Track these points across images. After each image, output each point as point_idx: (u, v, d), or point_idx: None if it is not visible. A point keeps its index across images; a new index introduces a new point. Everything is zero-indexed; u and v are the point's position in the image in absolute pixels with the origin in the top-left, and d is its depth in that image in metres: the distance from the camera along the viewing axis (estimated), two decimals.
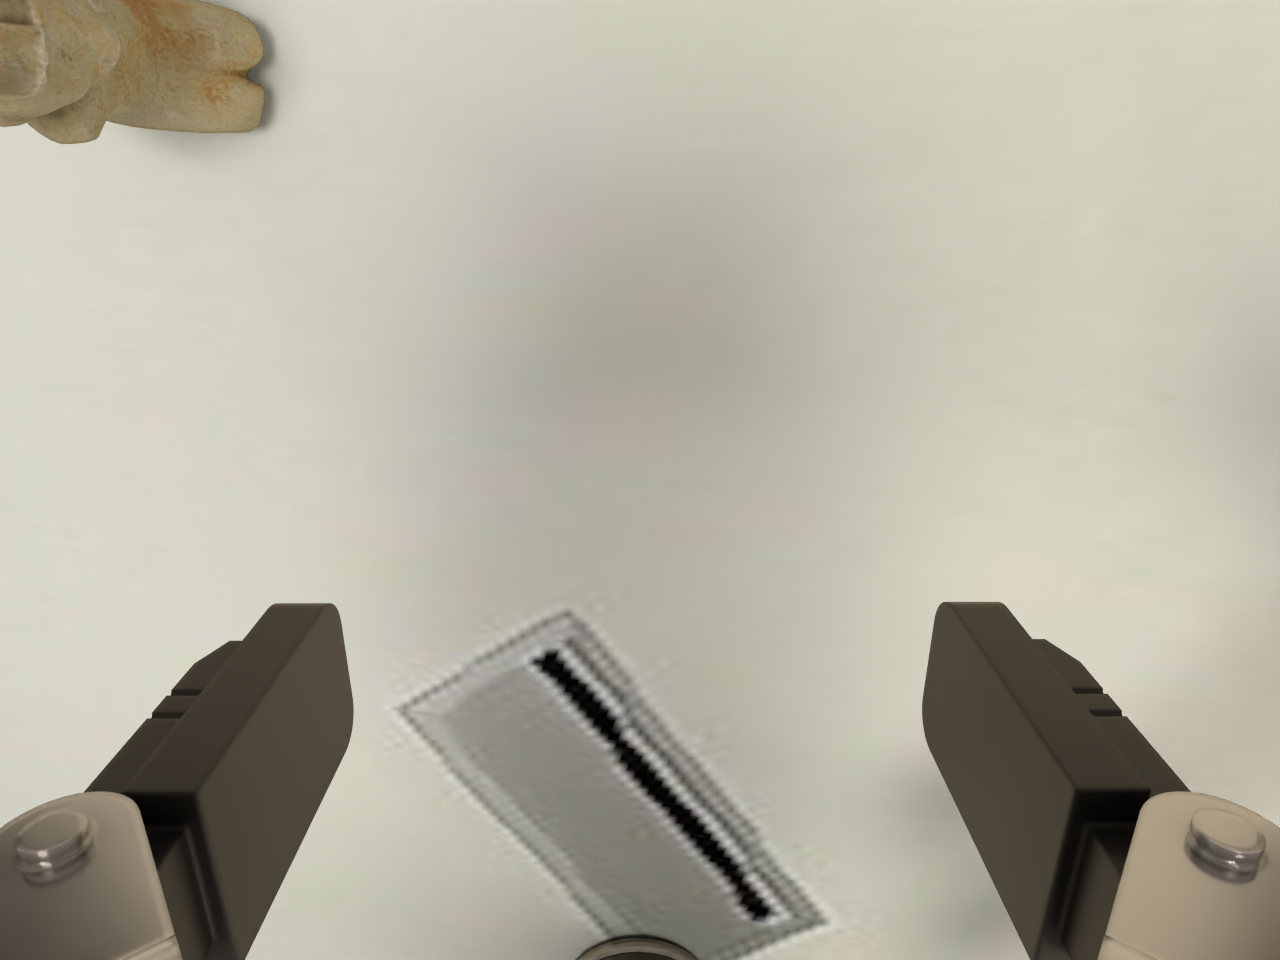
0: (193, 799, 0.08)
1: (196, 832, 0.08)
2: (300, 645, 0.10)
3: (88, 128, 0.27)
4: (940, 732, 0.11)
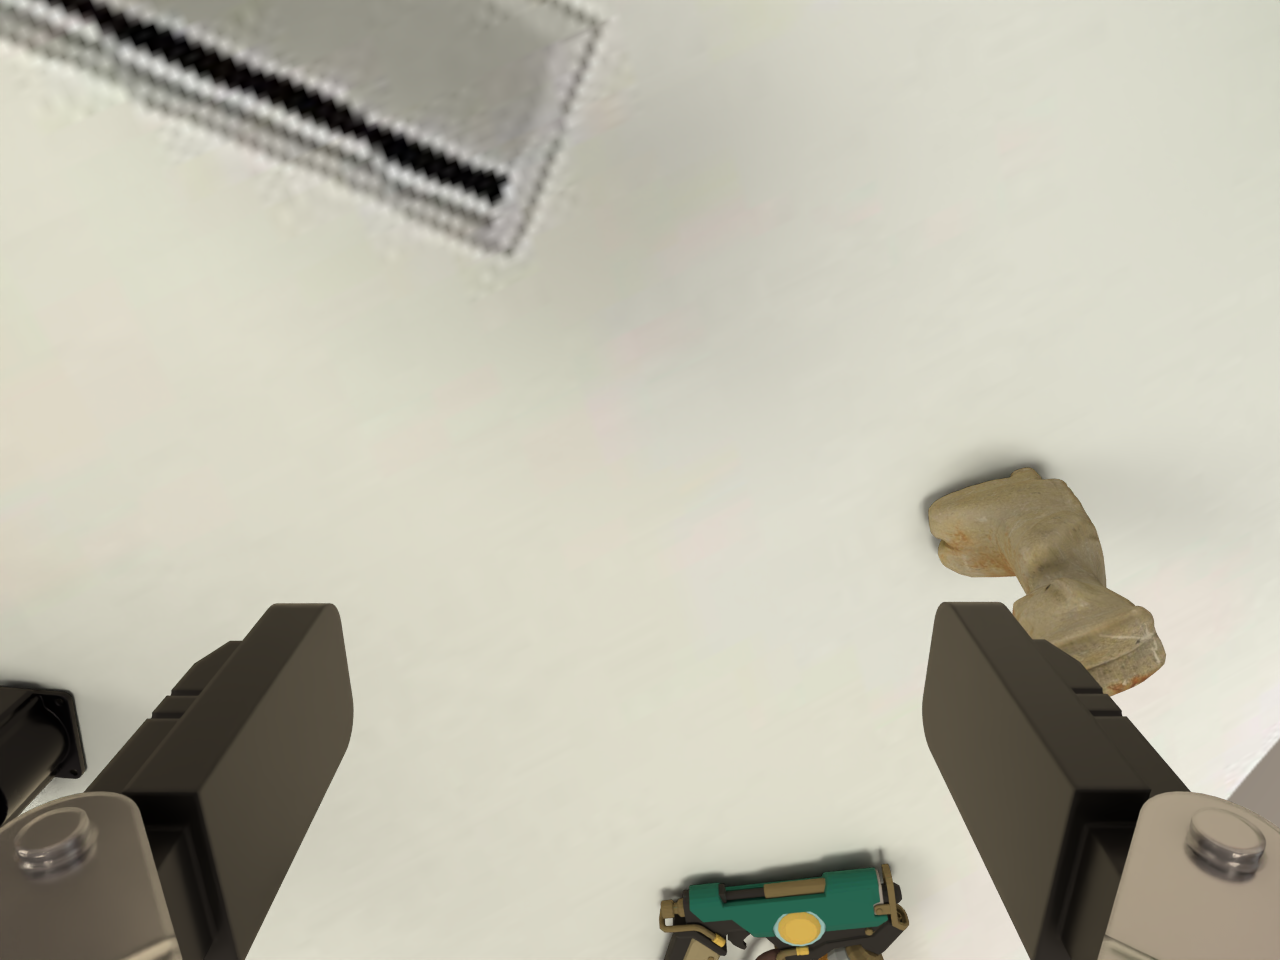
0: (193, 799, 0.08)
1: (196, 832, 0.08)
2: (300, 645, 0.10)
3: (1023, 558, 0.39)
4: (940, 732, 0.11)
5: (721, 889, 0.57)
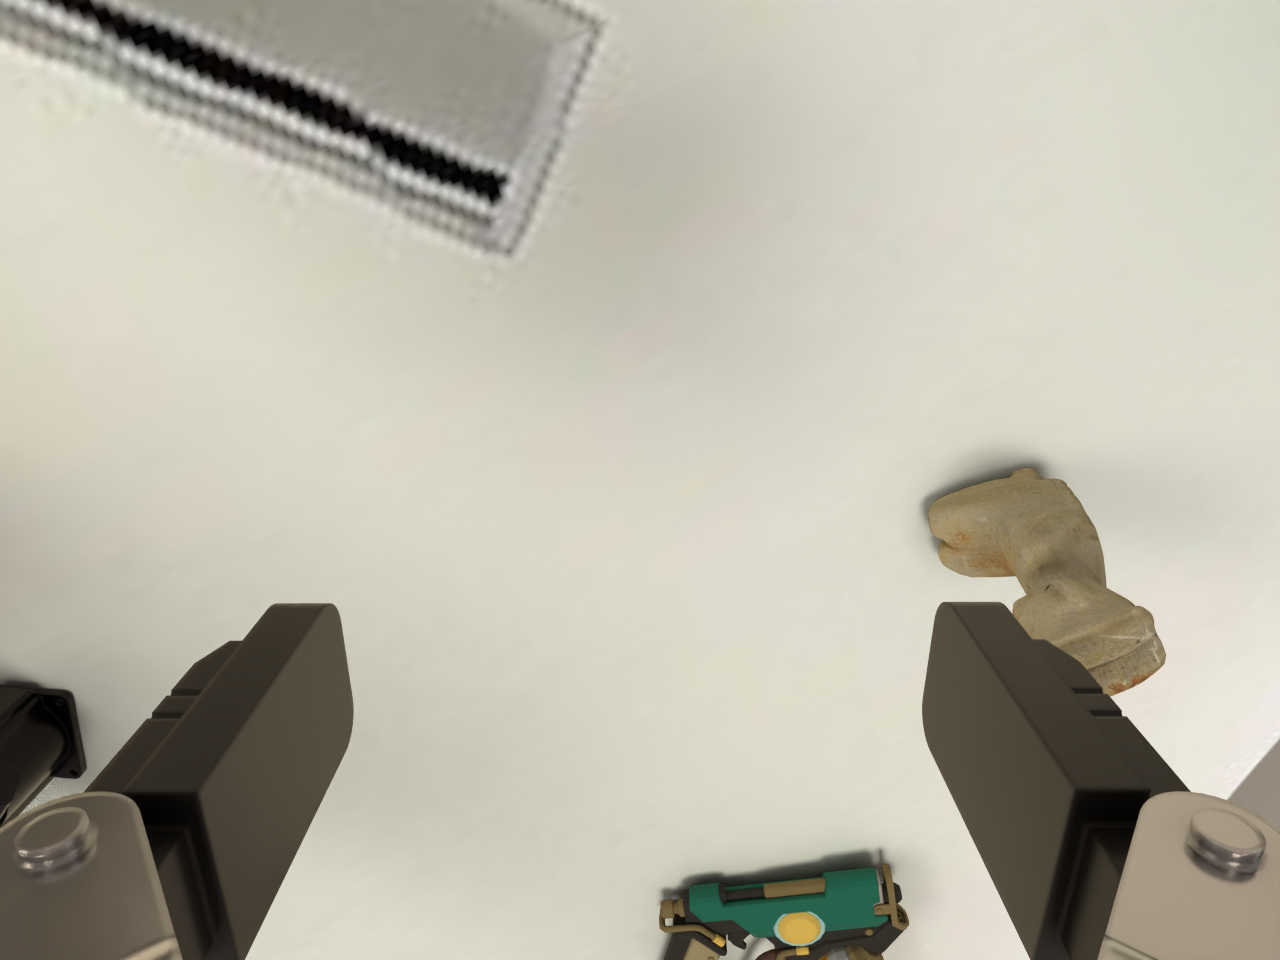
0: (193, 799, 0.08)
1: (196, 832, 0.08)
2: (300, 645, 0.10)
3: (1023, 558, 0.39)
4: (940, 732, 0.11)
5: (721, 889, 0.57)
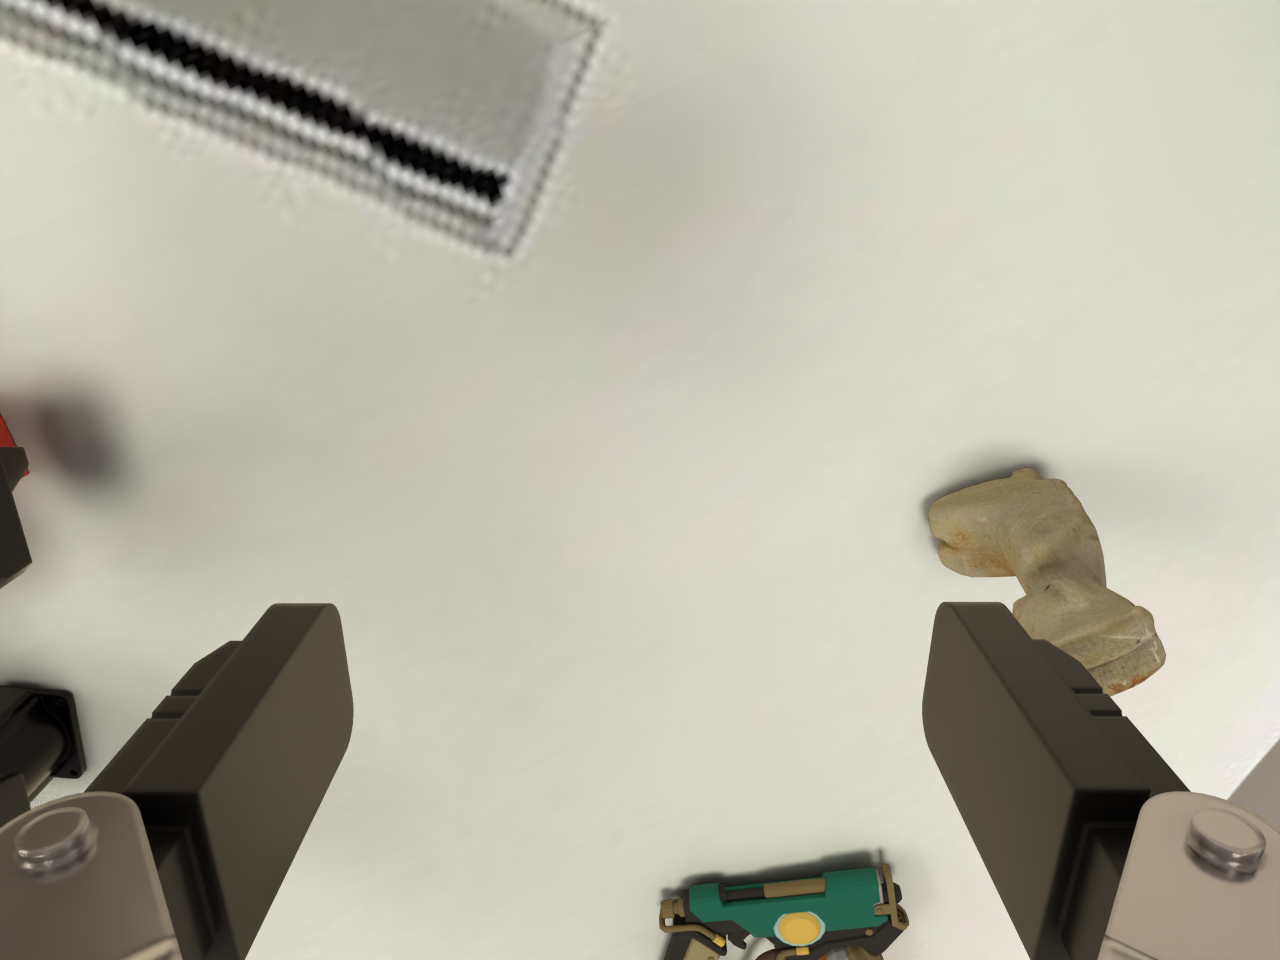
0: (193, 799, 0.08)
1: (196, 832, 0.08)
2: (300, 645, 0.10)
3: (1023, 558, 0.39)
4: (940, 732, 0.11)
5: (721, 889, 0.57)
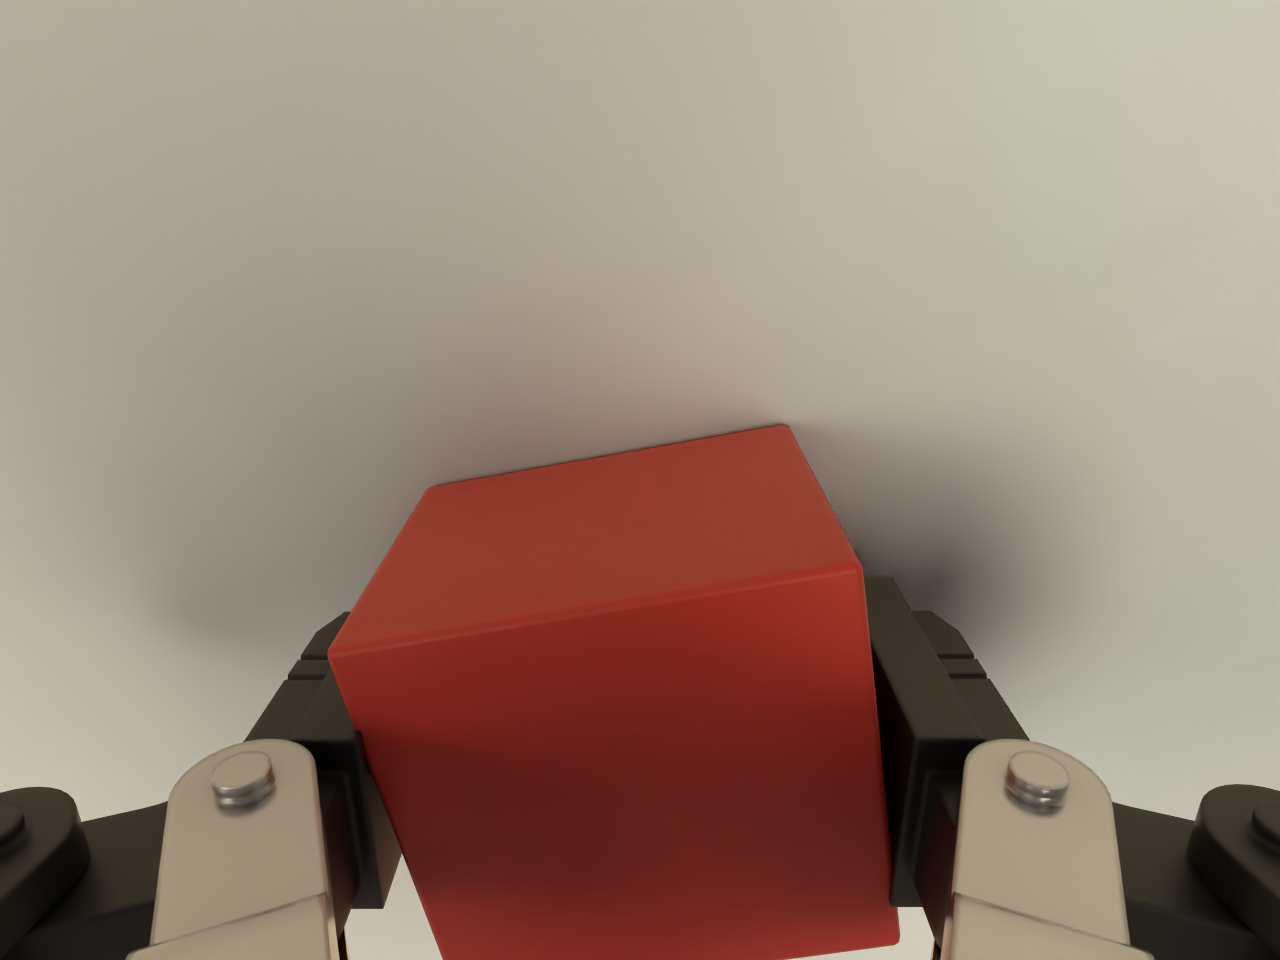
0: (353, 747, 0.08)
1: (353, 778, 0.08)
2: None
3: None
4: None
5: None
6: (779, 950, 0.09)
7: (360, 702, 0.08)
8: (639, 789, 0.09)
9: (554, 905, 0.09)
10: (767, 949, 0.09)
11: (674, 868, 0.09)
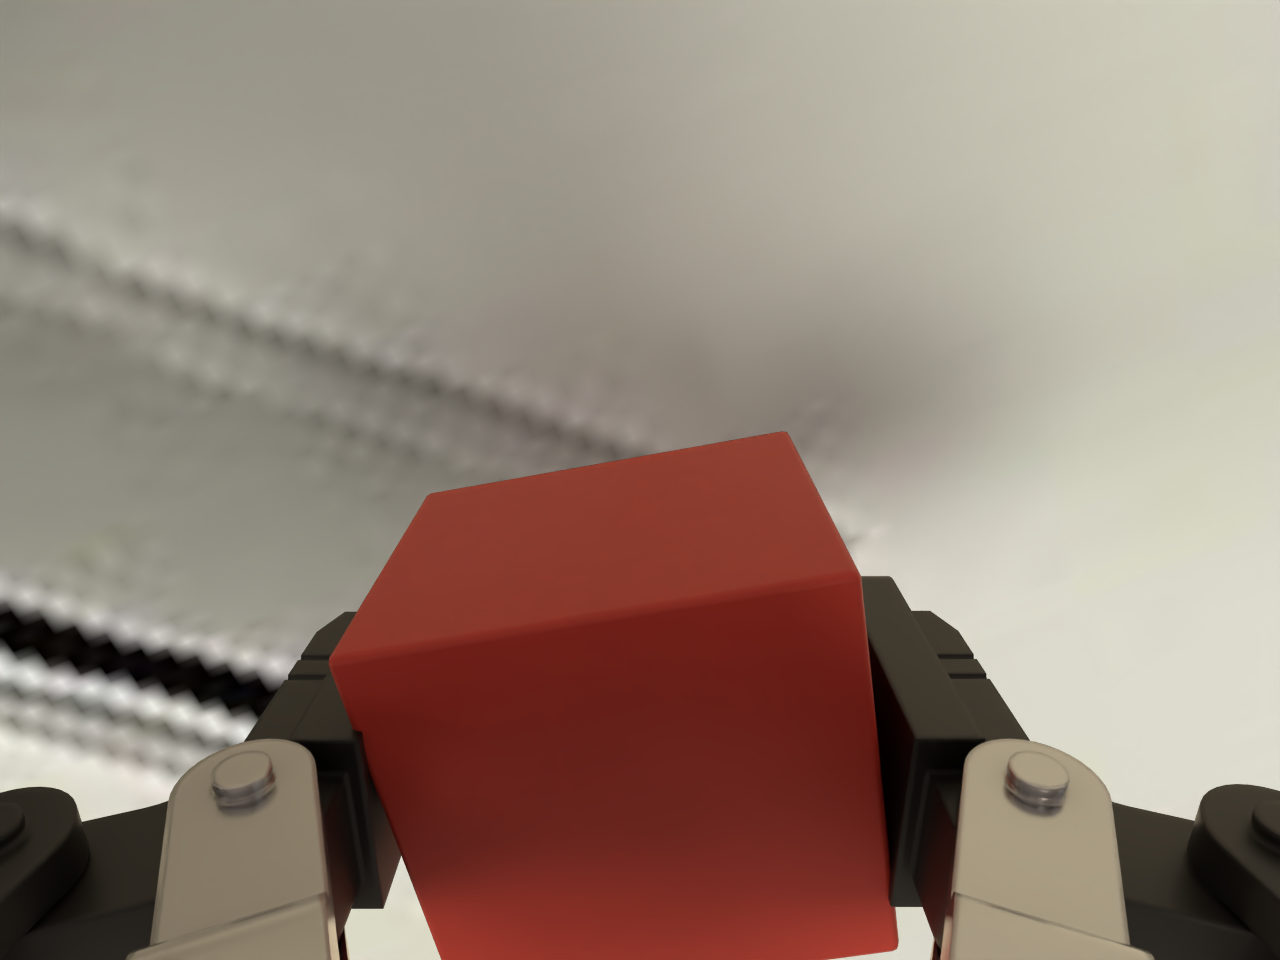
0: (353, 747, 0.08)
1: (353, 778, 0.08)
2: None
3: None
4: None
5: None
6: (778, 956, 0.09)
7: (361, 710, 0.08)
8: (638, 796, 0.09)
9: (554, 911, 0.09)
10: (766, 955, 0.09)
11: (674, 873, 0.09)
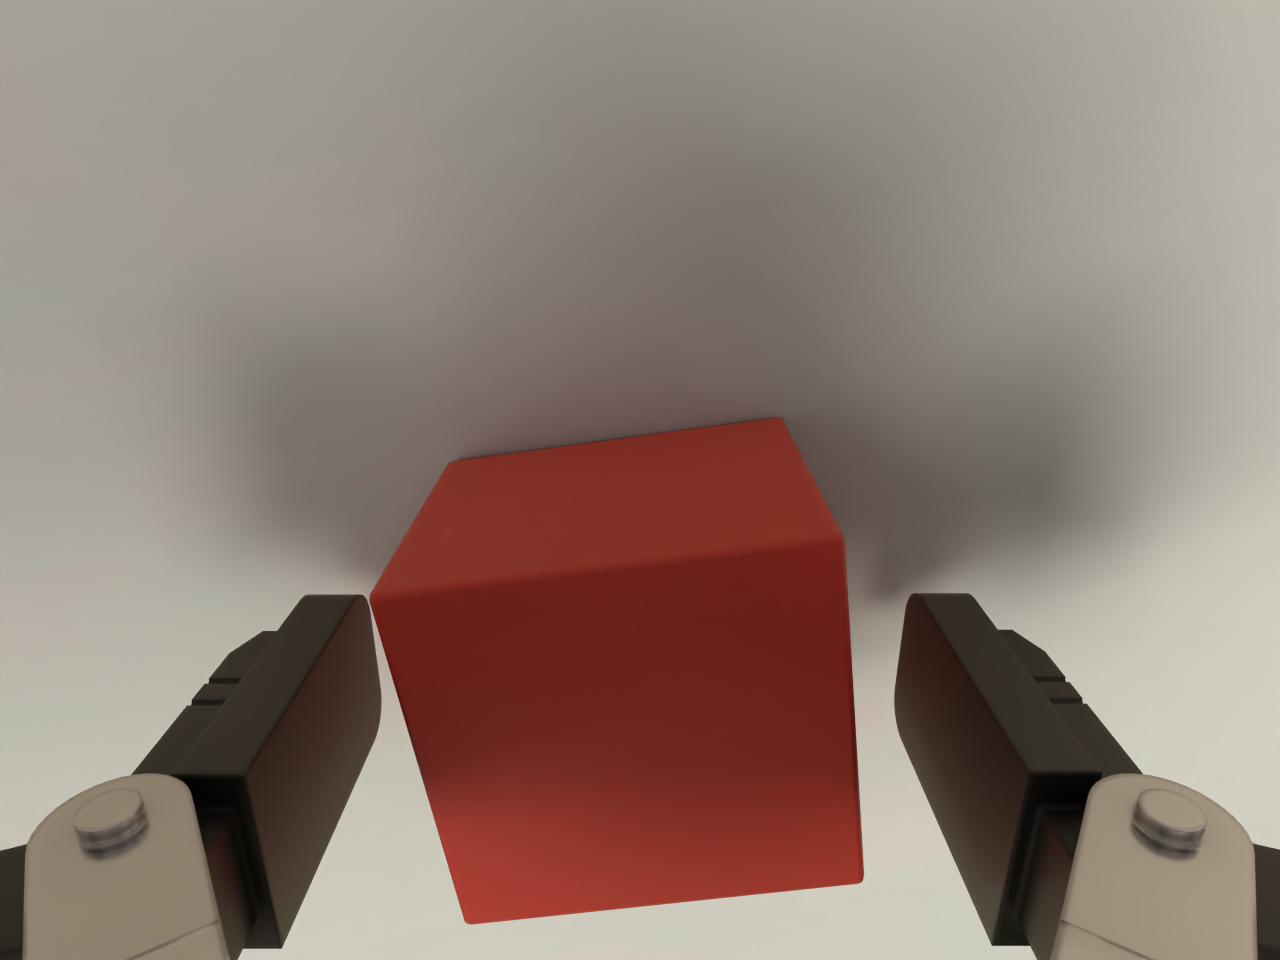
0: (240, 781, 0.08)
1: (242, 813, 0.08)
2: (334, 634, 0.10)
3: None
4: (910, 721, 0.11)
5: None
6: (756, 885, 0.10)
7: (396, 643, 0.09)
8: (638, 731, 0.10)
9: (557, 836, 0.10)
10: (745, 883, 0.10)
11: (666, 804, 0.10)
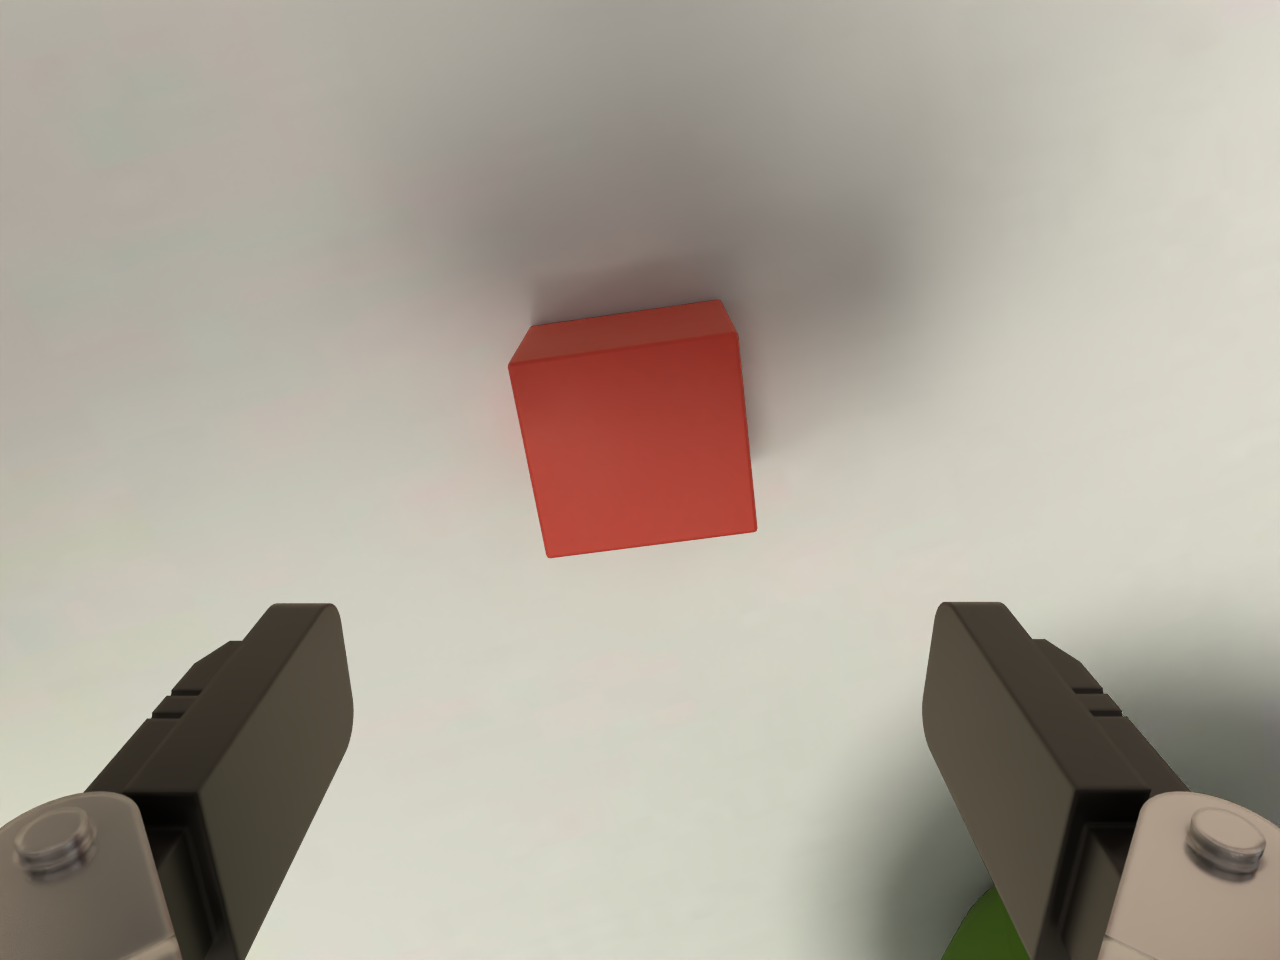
0: (193, 799, 0.08)
1: (196, 832, 0.08)
2: (300, 645, 0.10)
3: None
4: (940, 732, 0.11)
5: None
6: (700, 532, 0.20)
7: (520, 389, 0.19)
8: (639, 439, 0.19)
9: (597, 501, 0.20)
10: (695, 531, 0.20)
11: (653, 483, 0.20)
